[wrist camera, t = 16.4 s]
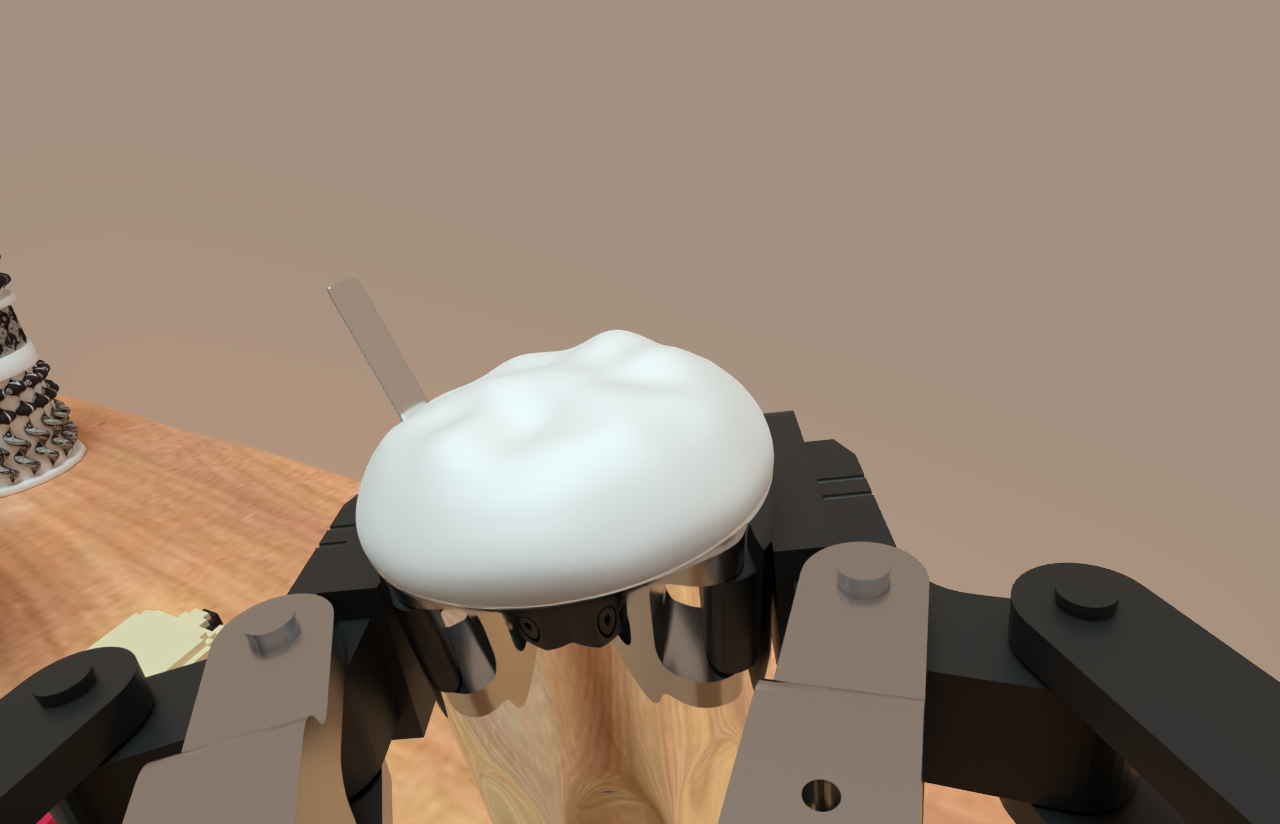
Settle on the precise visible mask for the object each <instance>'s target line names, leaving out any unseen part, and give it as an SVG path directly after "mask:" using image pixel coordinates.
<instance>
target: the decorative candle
mask: <svg viewBox="0 0 1280 824" xmlns="http://www.w3.org/2000/svg"><path fill="white" fill-rule="evenodd" d="M0 258H1V256H0ZM10 281H11V277H10V276H9V275H8V274H5V273H0V498H1V497H5V496H9V495H13V494H16V493H19V492H22V491H25V490H27V489H30V488H33V487H35V486H38V485H40V484H43V483H46V482H47V481H49V480H51V479H53V478H55V477H57V476H59V475H61V474H63V473H65V472H66V471H68V470H69V469H71V468H72V467H73V466H75V465H76V464H77V463H78V462H80V461H81V460H82V459H83V457H84V455H85V453H86V451H87V450H86V447H85V446H84V445H83V444H82V443H81V441H80V440H77V439H78V435H77V433H78V431H79V428H78V427H77V426H75V425H73V422H72V421H70V420H69V416H68V415H69V413H70V409H69V407H67V406H65V404H64V403H63V402H62V401H59V400H56V399H54V398H55V397H56V395H57V392H58V390H59V386H58V385H57V384H55V383H54V382H52V381H51V380H47V379H45V378H46V377H47V375H48V372H49V371H50V366H49V365H48V364H46V363H45V362H44V361H42V360H39V357H38V355H37V353H36V350H35V348H34V346H33V344H32V342H31V340H30V339H29V338H28V337H26V336H25V334H24V332H23V330H22V327H21V326H20V323H19V321H18V319H17V317H16V315H15V313H14V311H13V308H12V306H11V304H12V303H13V302H14V301H15V300H16V299H17V298H16V296H15V294H14V293H12V292H11V291H10V290H1V287H2V286H3V288H5V286H6V285H7V284H8V283H9V282H10Z"/></svg>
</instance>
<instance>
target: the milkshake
mask: <svg viewBox="0 0 1280 824" xmlns="http://www.w3.org/2000/svg"><path fill="white" fill-rule="evenodd" d="M327 291H328V293H329V296H330V298H331V299H332V301H333V303H334V305H335V307H336V308H337V310H338V312H339V313H340V315H341V317H342V318H343V320H344V322H345V324H346V326H347V327H348V329H349V331H350V332H351V334H352V336H353V338H354V340H355V341H356V343H357V345H358V346H359V348H360V350H361V351H362V353H363V355H364V357H365V359H366V360H367V362H368V364H369V365H370V367H371V369H372V371H373V372H374V374H375V376H376V377H377V379H378V381H379V383H380V384H381V386H382V388H383V390H384V391H385V393H386V395H387V396H388V398H389V400H390V402H391V403H392V405H393V407H394V409H395V410H396V412H397V414H398V416H399V417H400V419H401V421H402V422H401V423H400V424H398V425H397V426H395V427H394V428H392V429H391V430H390V431H389V432H388V433H387V435H386V436H385V437H384V439H383V440H382V441H381V443H380V444H379V446H378V448H377V449H376V450H375V452H374V454H373V455H372V457H371V459H370V462H369V464H368V466H367V468H366V471H365V474H364V476H363V479H362V482H361V486H360V489H359V493H358V498H357V504H356V527H357V532H358V536H359V540H360V543H361V545H362V548H363V550H364V552H365V554H366V555H367V557H368V559H369V561H370V564H371V566H372V568H373V570H374V572H375V574H376V577H377V579H378V581H379V583H380V585H381V587H382V589H383V591H384V593H385V595H386V597H387V599H388V602H389V604H390V606H391V608H392V610H393V612H394V614H395V616H396V618H397V620H398V622H399V624H400V626H401V629H402V631H403V633H404V635H405V637H406V639H407V641H408V643H409V645H410V647H411V649H412V651H413V653H414V656H415V658H416V660H417V662H418V664H419V666H420V668H421V670H422V672H423V674H424V676H425V678H426V680H427V682H428V685H429V687H430V689H431V691H432V693H433V695H434V697H435V699H436V701H437V703H438V705H439V707H440V709H441V711H442V713H443V716H444V718H445V720H446V722H447V724H448V726H449V728H450V730H451V732H452V734H453V736H454V738H455V740H456V742H457V745H458V747H459V749H460V751H461V753H462V755H463V757H464V759H465V762H466V764H467V766H468V768H469V770H470V772H471V775H472V777H473V779H474V782H475V784H476V786H477V788H478V791H479V793H480V795H481V798H482V800H483V802H484V804H485V807H486V809H487V811H488V814H489V816H490V818H491V821H492V823H493V824H718V820H719V817H720V813H721V809H722V806H723V802H724V798H725V795H726V791H727V788H728V784H729V780H730V777H731V773H732V769H733V766H734V762H735V758H736V755H737V751H738V747H739V744H740V740H741V737H742V733H743V729H744V726H745V722H746V718H747V715H748V711H749V707H750V704H751V700H752V697H753V693H754V690H755V687H756V685H757V683H758V681H759V680H760V679H761V678H764V679H771V636H772V536H773V510H774V466H773V465H774V449H773V442H772V437H771V434H770V430H769V427H768V424H767V422H766V420H765V417H764V415H763V413H762V411H761V409H760V408H759V406H758V405H757V403H756V402H755V400H754V399H753V398H752V396H751V395H750V394H749V392H748V391H747V390H746V389H745V388H744V387H743V386H742V385H741V384H740V383H739V382H738V381H737V380H736V379H735V378H733V377H732V376H731V375H729V374H728V373H727V372H726V371H724V370H723V369H721V368H720V367H718V366H717V365H715V364H714V363H713V362H711V361H709V360H707V359H705V358H703V357H700V356H698V355H695V354H693V353H690V352H688V351H686V350H682V349H679V348H676V347H672V346H665V345H661V344H659V343H656V342H654V341H652V340H650V339H648V338H645V337H643V336H640V335H638V334H636V333H633V332H629V331H624V330H611V331H607V332H603V333H601V334H598V335H597V336H594V337H593V338H591V339H589V340H587V341H586V342H584V343H582V344H580V345H578V346H576V347H574V348H571V349H567V350H563V351H556V352H542V353H531V354H525V355H521V356H517V357H515V358H512V359H510V360H508V361H506V362H504V363H503V364H501V365H499V366H498V367H496V368H495V369H493V370H492V371H491V372H489V373H488V374H486V375H485V376H483V377H481V378H480V379H478V380H476V381H474V382H472V383H470V384H467V385H465V386H462V387H460V388H457V389H454V390H452V391H449V392H447V393H445V394H443V395H440V396H438V397H437V398H435V399H433V400H431V401H430V402H429V401H428V400H427V398H426V396H425V394H424V393H423V391H422V389H421V387H420V386H419V384H418V382H417V380H416V379H415V377H414V375H413V373H412V372H411V370H410V368H409V366H408V365H407V363H406V361H405V360H404V358H403V356H402V354H401V352H400V351H399V349H398V347H397V346H396V344H395V342H394V340H393V338H392V337H391V335H390V333H389V332H388V330H387V328H386V326H385V324H384V323H383V321H382V319H381V318H380V316H379V314H378V312H377V311H376V309H375V308H374V305H373V304H372V302H371V300H370V298H369V297H368V295H367V293H366V291H365V290H364V288H363V286H362V285H361V283H360V282H359V280H358V279H357V278H350V279H347V280H345V281H342V282H339V283H337V284H334V285H332V286H330V287H329V288H328V289H327Z"/></svg>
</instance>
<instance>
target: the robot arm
mask: <svg viewBox="0 0 1280 824" xmlns="http://www.w3.org/2000/svg"><path fill="white" fill-rule="evenodd" d="M763 415H764V417H765V420H766V422H767V424H768V427H769V430H770V434H771V437H772V442H773V449H774V465H773V466H774V510H773V536H772V642H773V647H774V653H775V658H776V664H777V668H776V672H775V676H774V680H771V679H764V678H761V679H760V680H759V681H758V683H757V685H756V687H755V690H754V693H753V697H752V700H751V704H750V707H749V711H748V715H747V718H746V722H745V726H744V729H743V733H742V737H741V740H740V744H739V747H738V751H737V755H736V758H735V762H734V766H733V769H732V773H731V777H730V780H729V784H728V788H727V791H726V795H725V798H724V802H723V806H722V809H721V813H720V817H719V820H718V824H923V814H924V785H925V782H927V783H932V784H937V785H942V786H947V787H952V788H957V789H962V790H967V791H972V792H977V793H982V794H987V795H992V796H997V797H999V798H1000V800H1001V802H1002V804H1003V807H1004V808H1005V810H1006V811H1007V812H1008V814H1009V815H1010V817H1011V818H1012V819H1013V820H1014V822H1015V823H1016V824H1280V682H1279V681H1277V680H1276V679H1274V678H1273V677H1272V676H1270V675H1269V674H1267V673H1266V672H1264V671H1263V670H1262V669H1260V668H1259V667H1257V666H1256V665H1255V664H1253V663H1252V662H1250V661H1249V660H1247V659H1246V658H1245V657H1243V656H1242V655H1240V654H1239V653H1238V652H1236V651H1235V650H1233V649H1232V648H1231V647H1229V646H1228V645H1226V644H1225V643H1224V642H1222V641H1221V640H1219V639H1218V638H1216V637H1215V636H1214V635H1212V634H1211V633H1209V632H1208V631H1207V630H1205V629H1204V628H1202V627H1201V626H1199V625H1198V624H1197V623H1195V622H1194V621H1192V620H1191V619H1190V618H1188V617H1187V616H1185V615H1184V614H1182V613H1181V612H1180V611H1178V610H1177V609H1175V608H1174V607H1173V606H1171V605H1170V604H1168V603H1167V602H1165V601H1164V600H1163V599H1161V598H1160V597H1158V596H1157V595H1156V594H1154V593H1153V592H1151V591H1150V590H1149V589H1147V588H1146V587H1144V586H1143V585H1141V584H1140V583H1138V582H1136V581H1135V580H1133V579H1131V578H1129V577H1127V576H1125V575H1123V574H1121V573H1118V572H1115V571H1112V570H1110V569H1106V568H1102V567H1098V566H1093V565H1088V564H1079V563H1055V564H1047V565H1043V566H1039V567H1036V568H1033V569H1031V570H1029V571H1027V572H1025V573H1024V574H1022V575H1021V576H1020V577H1019V578H1018V579H1017V580H1016V581H1015V583H1014V584H1013V587H1012V591H1011V599H1010V598H1001V597H993V596H984V595H976V594H969V593H963V592H958V591H954V590H950V589H947V588H944V587H941V586H938V585H935V584H933V583H931V582H929V576H928V574H927V571H926V569H925V568H924V566H923V565H922V564H921V563H920V562H919V561H918V560H917V559H916V558H915V557H913V556H912V555H910V554H908V553H907V552H905V551H903V550H901V549H898V548H897V547H896V545H895V543H894V540H893V538H892V536H891V534H890V531H889V529H888V527H887V525H886V522H885V520H884V518H883V516H882V513H881V511H880V509H879V507H878V505H877V502H876V500H875V498H874V495H872V492H871V489H870V486H869V484H868V482H867V480H866V478H864V473H863V471H862V468H861V466H860V464H859V462H858V459H857V457H856V455H855V454H854V453H852V452H851V451H849V450H848V449H847V448H845V447H844V446H842V445H841V444H839V443H838V442H836V441H835V440H834V439H830V440H821V441H811V442H804V440H803V437H802V434H801V431H800V428H799V425H798V423H797V419H796V417H795V414H794V411H784V412H775V413H765V414H763ZM357 498H358V494H357V495H356V496H355V497H353V498H352V499H351V500H350V501H348V502H347V503H346V504H344V505H343V507H342V508H341V510H340V511H339V513H338V515H337V516H336V518H335V519H334V521H333V523H332V524H331V526H330V530H327V532H326V534H325V535H324V537H323V538H322V540H321V542H320V543H319V545H320V547H319V548H316V549H315V551H314V553H313V554H312V556H311V557H310V559H309V561H308V562H307V564H306V565H305V567H304V568H303V570H302V572H301V573H300V575H299V576H298V578H297V580H296V581H295V583H294V584H293V586H292V587H291V589H290V591H289V592H288V594H287V595H285V596H280V597H276V598H273V599H270V600H267V601H265V602H262V603H259V604H257V605H255V606H253V607H251V608H249V609H247V610H246V611H244V612H242V613H241V614H239V615H238V616H236V617H235V618H233V619H232V620H231V621H230V622H228V623H227V624H226V625H225V626H224V627H223V628H222V629H221V630H220V631H219V633H218V634H217V635H216V637H215V638H214V640H213V642H212V644H211V647H210V650H209V654H208V657H207V659H205V660H202V661H199V662H196V663H192V664H189V665H185V666H182V667H179V668H175V669H172V670H169V671H165V672H162V673H158V674H155V675H152V676H148V677H145V675H144V673H143V671H142V669H141V667H140V665H139V663H138V661H137V658H136V656H135V655H134V654H133V653H132V652H131V651H129V650H128V649H125V648H121V647H100V648H94V649H89V650H86V651H82V652H79V653H76V654H73V655H70V656H68V657H65V658H63V659H61V660H58V661H56V662H54V663H52V664H50V665H48V666H46V667H45V668H43V669H41V670H40V671H38V672H36V673H35V674H33V675H32V676H30V677H29V678H28V679H26V680H25V681H23V682H22V683H21V684H20V685H18V686H17V687H16V688H14V689H13V690H12V691H10V692H9V693H8V694H7V695H5V696H4V697H3V698H1V699H0V824H36V823H37V822H39V821H40V820H41V819H42V818H43V817H44V816H45V815H46V814H47V813H48V812H49V813H50V815H51V816H52V818H53V820H54V821H55V823H56V824H393V820H392V781H391V775H390V772H389V769H388V766H387V763H386V760H385V756H386V753H387V751H388V748H389V745H390V742H391V740H397V739H409V738H422V737H424V735H425V732H426V729H427V726H428V723H429V720H430V716H431V713H432V710H433V707H434V704H435V701H436V699H435V697H434V695H433V693H432V691H431V689H430V687H429V685H428V682H427V680H426V678H425V676H424V674H423V672H422V670H421V668H420V666H419V664H418V662H417V660H416V658H415V656H414V653H413V651H412V649H411V647H410V645H409V643H408V641H407V639H406V637H405V635H404V633H403V631H402V629H401V626H400V624H399V622H398V620H397V618H396V616H395V614H394V612H393V610H392V608H391V606H390V604H389V602H388V599H387V597H386V595H385V593H384V591H383V589H382V587H381V585H380V583H379V581H378V579H377V577H376V574H375V572H374V570H373V568H372V566H371V564H370V561H369V559H368V557H367V555H366V554H365V552H364V550H363V548H362V545H361V543H360V540H359V536H358V532H357V527H356V504H357Z"/></svg>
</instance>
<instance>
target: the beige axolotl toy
mask: <svg viewBox="0 0 1280 824" xmlns="http://www.w3.org/2000/svg"><path fill="white" fill-rule="evenodd" d="M223 627H224V626H223V623H222V621H221V619H220V617H219V615H218V614H217V613H215V612H212V611H209V610H207V609H203V610H199V609H196V608H195V609H194V610H192V611H191V612H190V613H188V612H184V613H182V614H181V615H180V616H179V617H174V616H171V615H169V614H166V613H164V612H161V611H159V610H156V611H155V612H153V611H150V610H145V611H144V612H143V613H141V614H138V613H135V614H133V615H132V616H131V617H129V618H128V619H127V620H125V621H124V622H123V623H121V624H120V625H119V626H117V627H116V628H115V629H113V630H112V631H111V632H109V633H108V634H107V635H105V636H104V637H103V638H101V639H100V640H99V641H97V642H96V643H95V644H93V645H92V646H91V647H89V648H88V649H87V650H89V649H94V648H100V647H121V648H125V649H128V650H129V651H131V652H132V653H133V654H134V655H135V656H136V658H137V661H138V663H139V665H140V667H141V669H142V671H143V673H144V675H145V677H148V676H152V675H155V674H158V673H162V672H165V671H169V670H172V669H175V668H179V667H182V666H185V665H189V664H192V663H196V662H199V661H202V660H205V659H207V657H208V654H209V650H210V647H211V644H212V642H213V640H214V638H215V637H216V635H217V634H218V633H219V631H220V630H221V629H222V628H223ZM85 651H86V650H85ZM36 824H56V823H55V821H54V820H53V818H52V816H51V815H50V813H49V812H48V813H47V814H46V815H45V816H44V817H43V818H42V819H41V820H40V821H39V822H37V823H36Z"/></svg>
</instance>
